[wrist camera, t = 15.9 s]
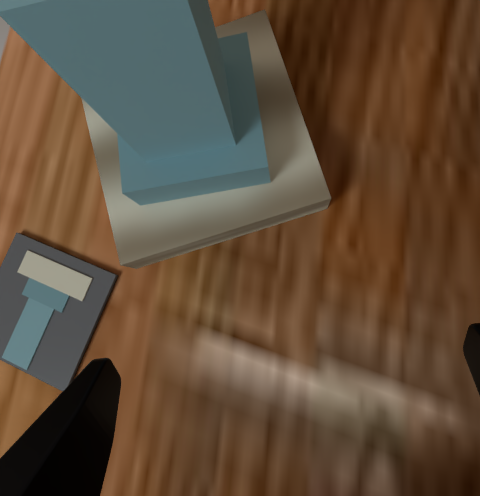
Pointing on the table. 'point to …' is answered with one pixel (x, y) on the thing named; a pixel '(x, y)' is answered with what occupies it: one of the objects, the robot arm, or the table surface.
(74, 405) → the robot arm
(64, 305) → the slate card
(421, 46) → the table surface
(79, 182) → the table surface
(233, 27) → the cream base block
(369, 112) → the table surface
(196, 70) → the teal block
